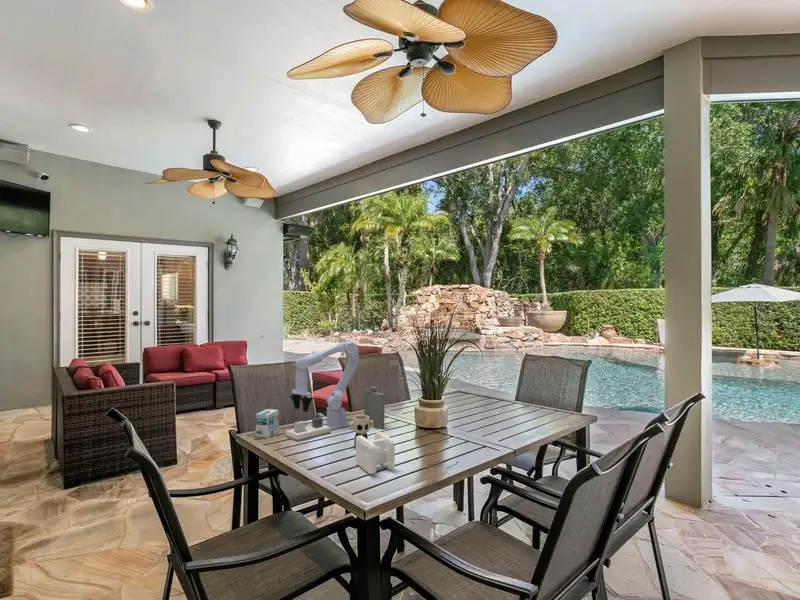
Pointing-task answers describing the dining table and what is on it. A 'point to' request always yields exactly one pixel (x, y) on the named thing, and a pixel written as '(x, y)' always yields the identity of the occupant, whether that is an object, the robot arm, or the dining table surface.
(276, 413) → the light bulb box
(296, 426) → the plug
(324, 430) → the power strip
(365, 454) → the cable organizer
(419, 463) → the dining table surface
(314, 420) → the twin plug
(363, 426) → the character mug
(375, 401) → the hip flask
